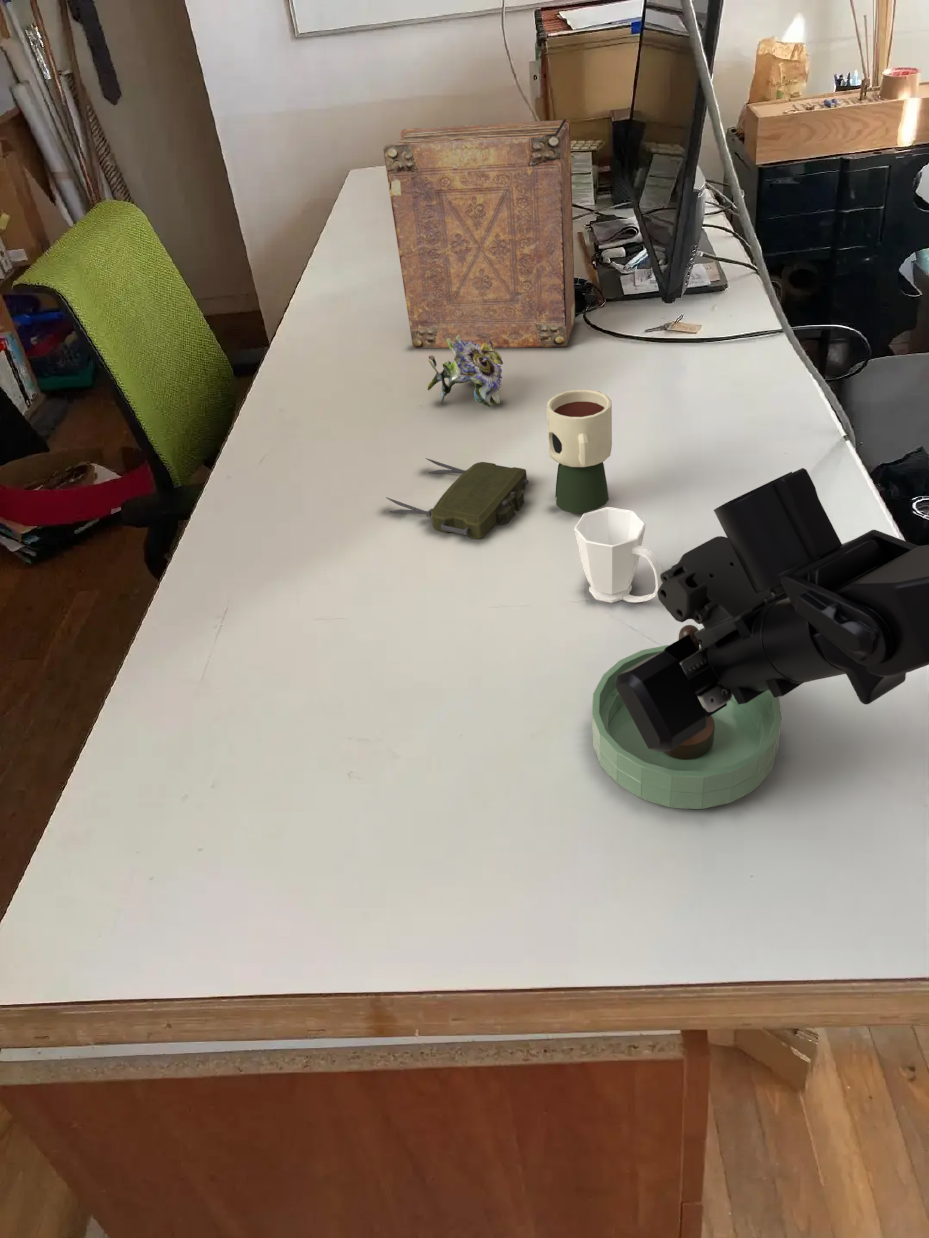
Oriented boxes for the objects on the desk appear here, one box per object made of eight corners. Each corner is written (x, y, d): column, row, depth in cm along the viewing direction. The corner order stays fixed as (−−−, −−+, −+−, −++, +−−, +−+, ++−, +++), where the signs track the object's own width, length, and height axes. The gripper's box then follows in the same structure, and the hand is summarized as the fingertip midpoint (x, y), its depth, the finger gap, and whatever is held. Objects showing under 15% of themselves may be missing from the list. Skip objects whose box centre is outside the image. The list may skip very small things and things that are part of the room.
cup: (607, 561, 101) (606, 498, 96) (681, 599, 95) (685, 533, 89) (562, 591, 97) (559, 528, 92) (636, 633, 91) (637, 567, 86)
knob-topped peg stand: (720, 724, 80) (730, 614, 72) (704, 766, 77) (713, 655, 69) (663, 710, 82) (667, 601, 74) (645, 750, 79) (648, 640, 71)
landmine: (488, 527, 103) (375, 503, 110) (490, 546, 105) (379, 521, 112) (540, 464, 113) (434, 445, 119) (542, 483, 114) (437, 464, 121)
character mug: (548, 482, 114) (543, 384, 106) (606, 476, 114) (605, 378, 106) (555, 532, 106) (549, 430, 98) (618, 526, 105) (617, 424, 97)
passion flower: (496, 437, 135) (503, 397, 124) (422, 429, 135) (421, 389, 124) (502, 368, 138) (509, 322, 127) (429, 361, 138) (430, 314, 127)
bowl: (792, 705, 82) (798, 667, 79) (751, 836, 72) (756, 799, 69) (626, 665, 88) (626, 629, 85) (567, 781, 78) (565, 745, 75)
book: (411, 348, 150) (381, 146, 131) (426, 325, 157) (399, 129, 137) (567, 347, 144) (559, 135, 125) (576, 323, 150) (569, 118, 131)
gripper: (834, 481, 65) (710, 542, 80) (634, 590, 59) (538, 635, 73) (910, 621, 65) (772, 657, 80) (717, 747, 58) (604, 761, 73)
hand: (674, 673), depth 76 cm, fingers closed on knob-topped peg stand, 2 cm apart
